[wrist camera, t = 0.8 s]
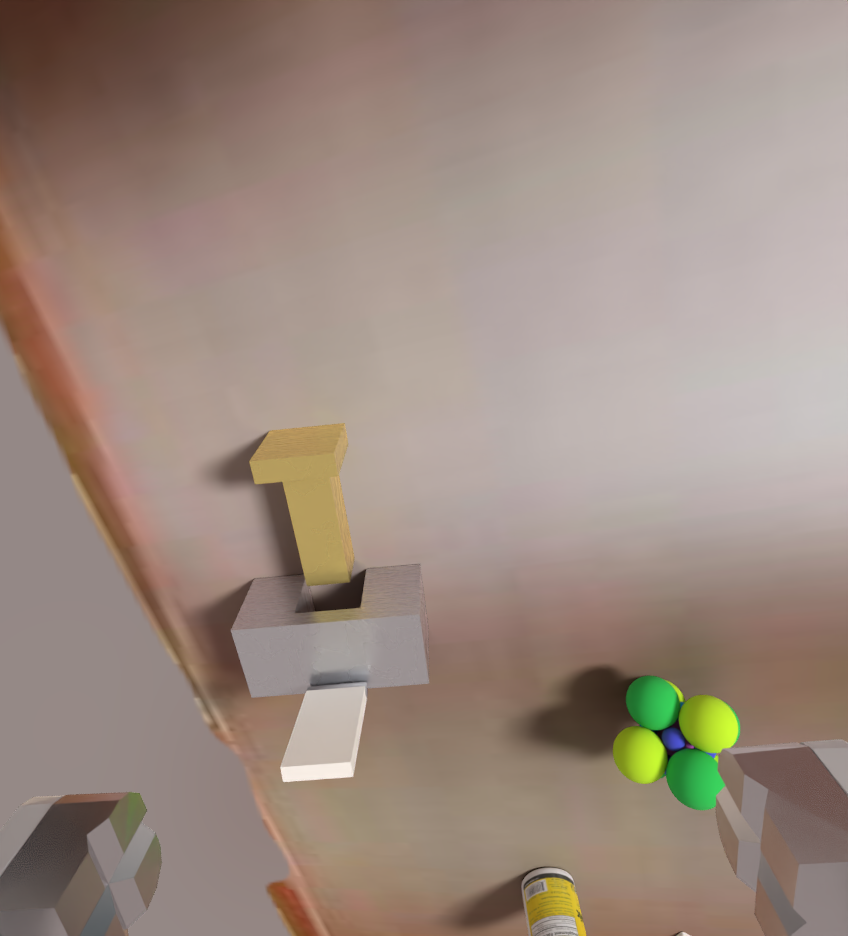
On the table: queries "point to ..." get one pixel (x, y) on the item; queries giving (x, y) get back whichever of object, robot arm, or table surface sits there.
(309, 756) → the bar
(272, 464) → the lynch pin
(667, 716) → the molecule model
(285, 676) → the block
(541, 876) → the supplement bottle
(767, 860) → the robot arm
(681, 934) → the ink cartridge box
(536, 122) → the table surface
